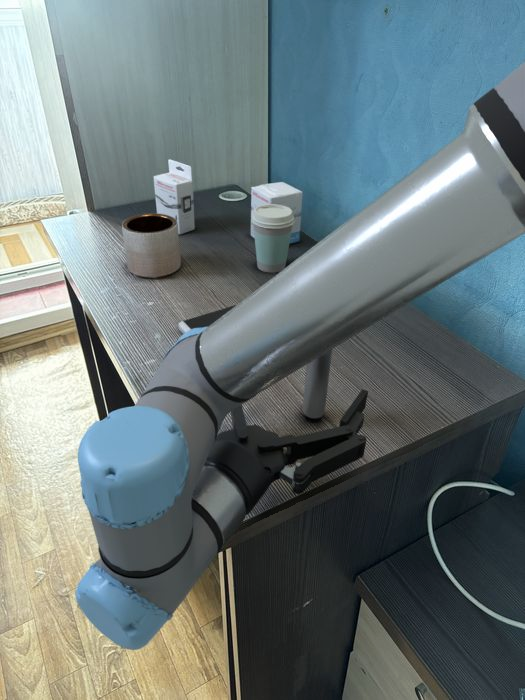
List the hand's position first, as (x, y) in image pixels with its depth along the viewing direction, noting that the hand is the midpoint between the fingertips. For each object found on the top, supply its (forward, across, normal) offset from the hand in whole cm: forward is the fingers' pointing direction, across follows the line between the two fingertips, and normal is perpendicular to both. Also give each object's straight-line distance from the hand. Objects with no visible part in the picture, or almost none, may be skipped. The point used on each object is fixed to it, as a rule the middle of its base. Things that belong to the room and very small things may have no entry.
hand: (314, 379), depth 66 cm
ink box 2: (+50, -35, -7) cm, 61 cm away
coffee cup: (+37, -28, -7) cm, 47 cm away
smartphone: (+17, -17, -7) cm, 25 cm away
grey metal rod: (+1, 0, -7) cm, 7 cm away
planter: (+23, -48, -7) cm, 54 cm away
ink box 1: (+42, -58, -7) cm, 72 cm away
